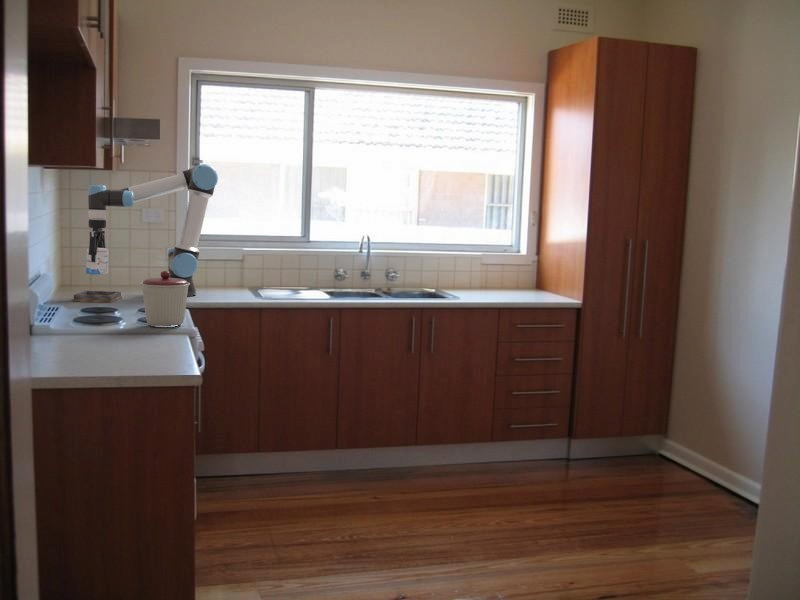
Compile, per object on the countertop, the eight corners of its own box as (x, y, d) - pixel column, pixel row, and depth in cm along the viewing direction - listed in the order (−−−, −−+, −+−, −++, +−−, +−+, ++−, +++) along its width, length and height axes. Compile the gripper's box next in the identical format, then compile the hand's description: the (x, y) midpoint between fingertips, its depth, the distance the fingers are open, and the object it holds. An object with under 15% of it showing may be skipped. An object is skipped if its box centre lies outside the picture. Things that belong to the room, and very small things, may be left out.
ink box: (92, 274, 376) (92, 248, 374) (85, 273, 379) (85, 247, 377) (108, 273, 382) (108, 248, 381) (102, 272, 385) (102, 247, 384)
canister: (197, 324, 323) (197, 270, 320) (176, 331, 305) (177, 274, 303) (154, 321, 326) (154, 267, 324) (131, 328, 309) (131, 271, 306)
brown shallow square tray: (122, 297, 391) (122, 291, 391) (111, 302, 374) (111, 295, 374) (85, 296, 390) (85, 290, 390) (72, 301, 373) (72, 294, 373)
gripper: (96, 218, 388) (96, 266, 391) (80, 219, 367) (81, 270, 369) (112, 218, 389) (113, 266, 391) (97, 220, 367) (98, 270, 370)
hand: (97, 268), depth 380 cm, fingers closed on ink box, 9 cm apart
